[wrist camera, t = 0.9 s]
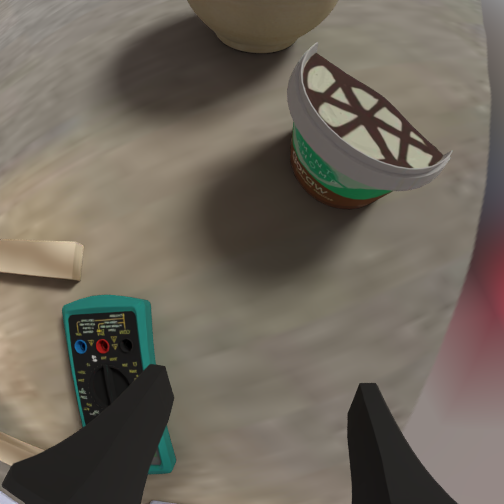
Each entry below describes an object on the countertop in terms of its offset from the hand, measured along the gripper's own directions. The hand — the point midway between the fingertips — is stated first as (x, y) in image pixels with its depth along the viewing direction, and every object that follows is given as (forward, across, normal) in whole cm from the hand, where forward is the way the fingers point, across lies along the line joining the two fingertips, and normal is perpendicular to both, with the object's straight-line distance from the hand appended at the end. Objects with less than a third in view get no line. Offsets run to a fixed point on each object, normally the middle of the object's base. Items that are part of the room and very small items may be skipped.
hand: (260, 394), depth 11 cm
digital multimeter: (+6, +12, +11) cm, 17 cm away
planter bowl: (+30, +4, -18) cm, 35 cm away
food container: (+19, -3, -3) cm, 20 cm away
